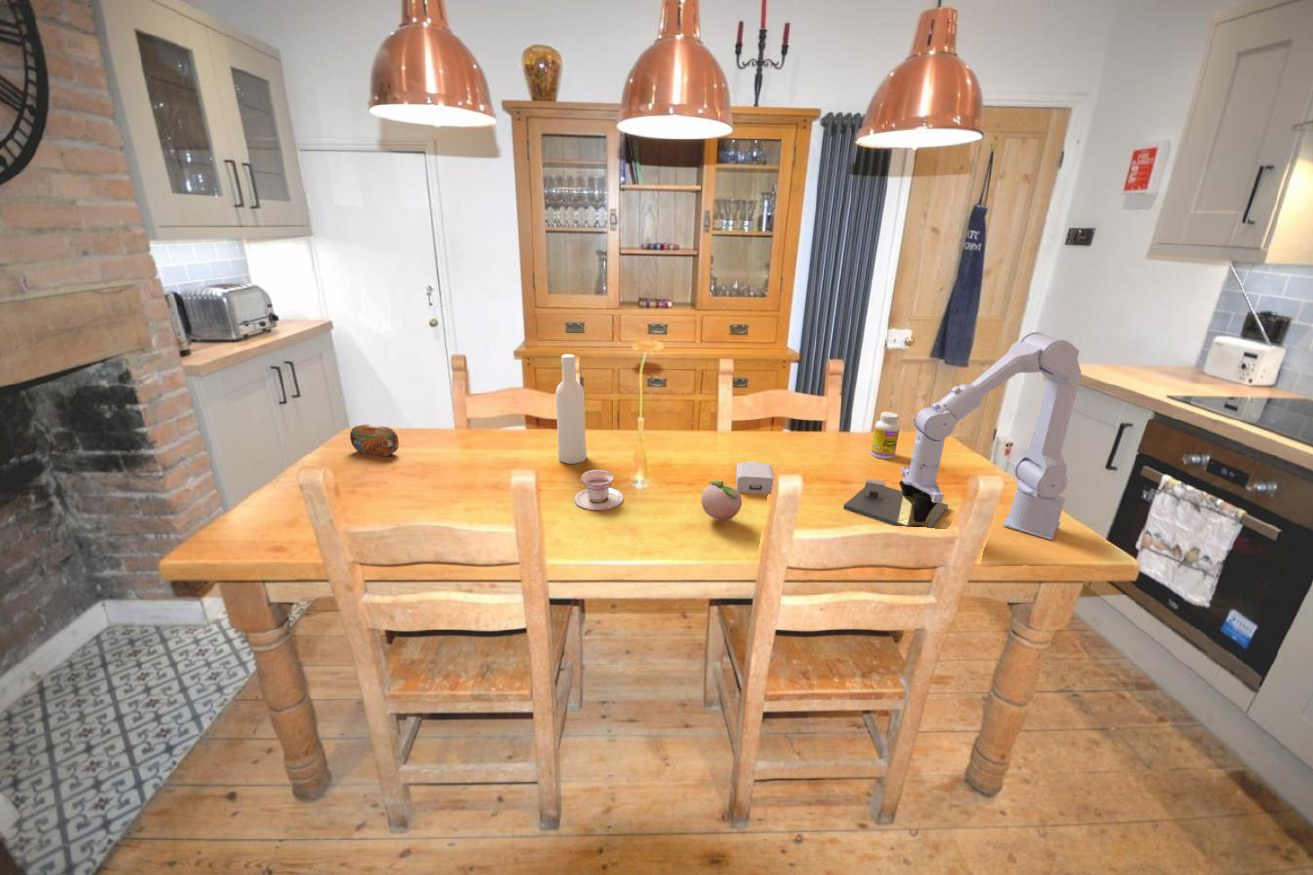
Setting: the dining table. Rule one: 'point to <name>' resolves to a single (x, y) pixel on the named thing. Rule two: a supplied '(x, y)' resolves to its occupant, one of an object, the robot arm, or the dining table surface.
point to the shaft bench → (887, 505)
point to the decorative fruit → (721, 501)
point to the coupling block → (910, 510)
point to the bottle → (570, 415)
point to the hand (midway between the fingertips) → (914, 516)
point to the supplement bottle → (885, 436)
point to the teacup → (598, 491)
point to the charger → (754, 478)
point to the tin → (374, 440)
